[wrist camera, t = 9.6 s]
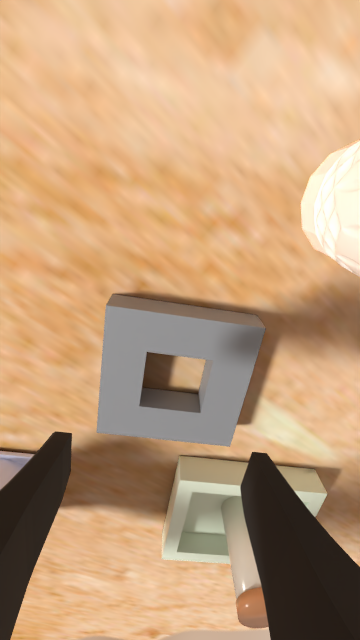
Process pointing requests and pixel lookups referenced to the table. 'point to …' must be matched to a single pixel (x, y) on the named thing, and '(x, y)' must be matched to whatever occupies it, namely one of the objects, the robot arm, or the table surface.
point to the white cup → (335, 207)
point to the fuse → (243, 566)
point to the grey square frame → (180, 340)
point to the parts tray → (217, 505)
